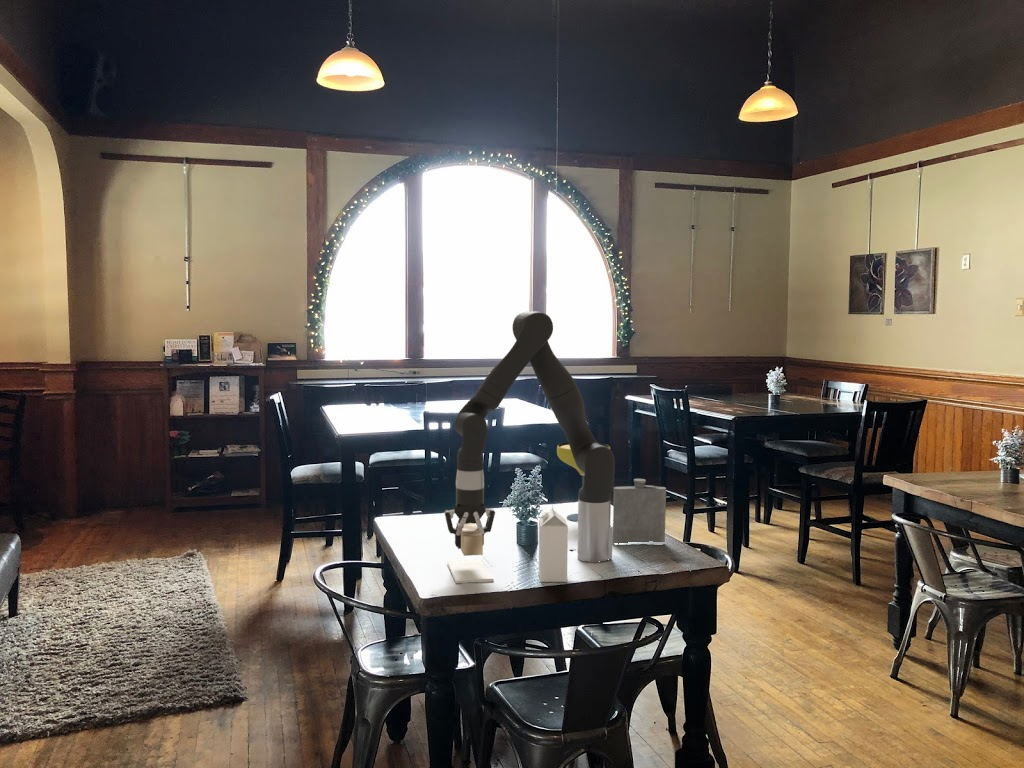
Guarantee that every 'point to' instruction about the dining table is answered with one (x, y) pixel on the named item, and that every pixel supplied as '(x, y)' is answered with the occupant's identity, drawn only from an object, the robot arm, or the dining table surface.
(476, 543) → the birch block
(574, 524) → the dining table surface
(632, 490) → the hip flask
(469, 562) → the white board
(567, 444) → the cocktail glass
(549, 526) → the milk carton
